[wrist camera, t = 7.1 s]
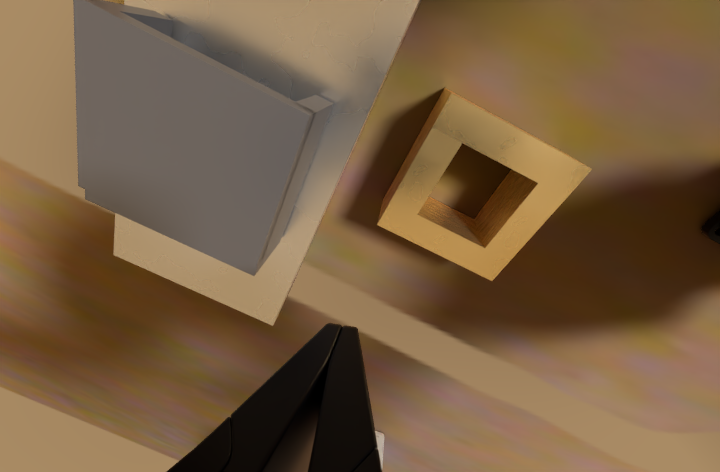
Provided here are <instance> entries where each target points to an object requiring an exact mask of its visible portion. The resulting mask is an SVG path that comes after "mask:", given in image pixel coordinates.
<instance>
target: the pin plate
mask: <svg viewBox="0 0 720 472" xmlns="http://www.w3.org/2000/svg"><path fill="white" fill-rule="evenodd" d="M420 2H421V0H124V5H128V6H133V7H138V8H143V9H148V10H153V11H156V12H158V13H160V14H162V15H164V16H165V17H167V18H169V19H171V20H173V27H172V36H171V38H173V39H175V40H177V41H179V42H181V43H183V44H184V45H186V46H188V47H190V48H192V49H194V50H196V51H198V52H200V53H202V54H204V55H206V56H208V57H210V58H212V59H214V60H216V61H218V62H219V63H221V64H223V65H225V66H227V67H229V68H231V69H233V70H235V71H237V72H239V73H241V74H243V75H245V76H247V77H249V78H251V79H253V80H254V81H256V82H258V83H260V84H262V85H264V86H266V87H268V88H270V89H272V90H274V91H276V92H278V93H280V94H282V95H284V96H286V97H288V98H289V99H291V100H293V101H295V102H296V101H299V100H302V99H305V98H308V97H311V96H314V95H318V96H320V97H321V98H323V99H325V100H327V101H329V102H331V103H333V106H332V108H331V111H330V114H329V116H328V119H327V121H326V124H325V127H324V129H323V132H322V134H321V137H320V140H319V142H318V145H317V147H316V150H315V153H314V155H313V158H312V160H311V163H310V166H309V168H308V171H307V173H306V176H305V178H304V181H303V184H302V186H301V189H300V191H299V194H298V197H297V199H296V202H295V204H294V207H293V210H292V212H291V215H290V217H289V220H288V223H287V225H286V228H285V230H284V233H283V236H282V238H281V241H280V243H279V244H278V245H277V247H276V248H275V249H274V251H273V252H272V253H271V255H270V256H269V257H268V259H267V260H266V261H265V263H264V264H263V265H262V267H261V268H260V269H259V271H258V272H257V273H256V275H255V276H252V275H250V274H248V273H246V272H243V271H241V270H239V269H237V268H235V267H233V266H230V265H228V264H226V263H224V262H222V261H219V260H217V259H215V258H213V257H211V256H208V255H206V254H204V253H202V252H200V251H198V250H195V249H193V248H191V247H189V246H187V245H184V244H182V243H180V242H178V241H176V240H174V239H171V238H169V237H167V236H165V235H163V234H160V233H158V232H156V231H154V230H152V229H149V228H147V227H145V226H143V225H141V224H139V223H136V222H134V221H132V220H130V219H128V218H125V217H123V216H121V215H119V214H117V213H115V231H114V255H115V256H117V257H119V258H122V259H124V260H126V261H128V262H130V263H133V264H135V265H137V266H139V267H142V268H144V269H146V270H148V271H151V272H153V273H155V274H157V275H160V276H162V277H164V278H166V279H169V280H171V281H173V282H175V283H178V284H180V285H182V286H184V287H187V288H189V289H191V290H193V291H196V292H198V293H200V294H202V295H205V296H207V297H209V298H211V299H213V300H216V301H218V302H220V303H222V304H225V305H227V306H229V307H231V308H234V309H236V310H238V311H240V312H243V313H245V314H247V315H249V316H252V317H254V318H256V319H258V320H261V321H263V322H265V323H267V324H270V325H272V326H273V325H274V323H275V321H276V319H277V317H278V316H279V314H280V312H281V309H282V307H283V305H284V303H285V300H286V298H287V296H288V294H289V291H290V289H291V287H292V285H293V283H294V281H295V278H296V276H297V274H298V271H299V269H300V267H301V265H302V263H303V261H304V258H305V256H306V254H307V252H308V250H309V247H310V245H311V243H312V241H313V238H314V236H315V234H316V232H317V230H318V227H319V225H320V223H321V221H322V219H323V216H324V214H325V212H326V210H327V207H328V205H329V203H330V201H331V199H332V196H333V194H334V192H335V190H336V188H337V185H338V183H339V181H340V179H341V176H342V174H343V172H344V170H345V168H346V165H347V163H348V161H349V159H350V157H351V154H352V152H353V150H354V148H355V145H356V143H357V141H358V139H359V137H360V134H361V132H362V130H363V128H364V126H365V123H366V121H367V119H368V117H369V114H370V112H371V110H372V108H373V106H374V103H375V101H376V99H377V97H378V95H379V92H380V90H381V88H382V86H383V83H384V81H385V79H386V77H387V75H388V72H389V70H390V68H391V66H392V64H393V61H394V59H395V57H396V55H397V52H398V50H399V48H400V46H401V44H402V41H403V39H404V37H405V35H406V33H407V30H408V28H409V26H410V24H411V21H412V19H413V17H414V15H415V13H416V10H417V8H418V6H419V4H420Z"/></svg>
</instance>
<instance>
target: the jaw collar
mask: <svg viewBox="0 0 720 472" xmlns="http://www.w3.org/2000/svg"><path fill="white" fill-rule="evenodd" d="M462 143H463V144H465V145H467V146H469V147H471V148H473V149H474V150H476V151H478V152H480V153H482V154H484V155H486V156H488V157H490V158H492V159H493V160H495V161H497V162H499V163H501V164H503V165H505V166H507V167H509V168H510V169H511V170H510V172H509V173H508V174H507V176H506V177H505V178H504V180H503V181H502V182H501V184H500V185H499V186H498V188H497V189H496V190H495V192H494V193H493V194H492V196H491V197H490V198H489V200H488V201H487V202H486V204H485V205H484V206H483V208H482V209H481V210H480V212H479V213H478V214H477V216H476V217H475V218H474V219H472V218H470V217H468V216H467V215H465V214H463V213H461V212H459V211H457V210H455V209H453V208H451V207H449V206H447V205H445V204H443V203H441V202H439V201H437V200H435V199H433V198H431V197H429V195H430V193H431V192H432V190H433V189H434V187H435V186H436V184H437V182H438V181H439V179H440V178H441V176H442V175H443V173H444V171H445V170H446V168H447V167H448V165H449V163H450V162H451V160H452V159H453V157H454V156H455V154H456V152H457V151H458V149H459V148H460V146H461V145H462ZM591 170H592V169H591V168H589V167H588V166H586V165H584V164H583V163H581V162H579V161H578V160H576V159H574V158H573V157H571V156H569V155H567V154H566V153H564V152H562V151H561V150H559V149H557V148H555V147H553V146H552V145H550V144H548V143H546V142H544V141H542V140H541V139H539V138H537V137H535V136H533V135H531V134H529V133H528V132H526V131H524V130H522V129H520V128H518V127H517V126H515V125H513V124H511V123H509V122H507V121H505V120H504V119H502V118H500V117H498V116H496V115H494V114H493V113H491V112H489V111H487V110H485V109H483V108H481V107H480V106H478V105H476V104H474V103H472V102H470V101H469V100H467V99H465V98H463V97H461V96H459V95H458V94H456V93H454V92H452V91H450V90H448V89H446V88H444V90H443V91H442V93H441V95H440V97H439V99H438V100H437V102H436V104H435V106H434V108H433V110H432V111H431V113H430V115H429V117H428V119H427V120H426V122H425V124H424V126H423V128H422V130H421V131H420V133H419V135H418V137H417V139H416V140H415V142H414V144H413V146H412V148H411V150H410V151H409V153H408V155H407V157H406V159H405V160H404V162H403V164H402V166H401V168H400V170H399V171H398V173H397V175H396V177H395V179H394V180H393V182H392V184H391V186H390V188H389V190H388V191H387V193H386V195H385V197H384V199H383V201H382V206H381V210H380V214H379V219H378V223H377V225H378V226H380V227H382V228H384V229H387V230H389V231H391V232H393V233H395V234H397V235H399V236H401V237H403V238H405V239H407V240H409V241H411V242H413V243H415V244H417V245H419V246H421V247H423V248H425V249H427V250H429V251H431V252H433V253H436V254H438V255H440V256H442V257H444V258H446V259H448V260H450V261H452V262H454V263H456V264H458V265H460V266H462V267H464V268H466V269H468V270H470V271H472V272H474V273H476V274H478V275H480V276H482V277H485V278H487V279H489V280H491V281H493V280H494V278H495V277H496V276H497V275H498V274H499V273H500V272H501V271H502V269H503V268H504V267H505V266H506V265H507V264H508V263H509V262H510V261H511V259H512V258H513V257H514V256H515V255H516V254H517V253H518V252H519V250H520V249H521V248H522V247H523V246H524V245H525V244H526V243H527V242H528V240H529V239H530V238H531V237H532V236H533V235H534V234H535V233H536V232H537V230H538V229H539V228H540V227H541V226H542V225H543V224H544V223H545V221H546V220H547V219H548V218H549V217H550V216H551V215H552V214H553V213H554V211H555V210H556V209H557V208H558V207H559V206H560V205H561V204H562V202H563V201H564V200H565V199H566V198H567V197H568V196H569V195H570V194H571V192H572V191H573V190H574V189H575V188H576V187H577V186H578V185H579V183H580V182H581V181H582V180H583V179H584V178H585V177H586V176H587V175H588V173H589V172H590V171H591Z"/></svg>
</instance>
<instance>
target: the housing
mask: <svg viewBox="0 0 720 472" xmlns="http://www.w3.org/2000/svg"><path fill="white" fill-rule="evenodd" d="M73 2H74V36H75V37H74V38H75V74H76V110H77V149H78V186H80V187H82V188H84V189H85V199H86V200H88V201H90V202H93V203H95V204H97V205H99V206H101V207H104V208H106V209H108V210H110V211H112V212H115V213H117V214H119V215H121V216H123V217H125V218H128V219H130V220H132V221H134V222H136V223H139V224H141V225H143V226H145V227H147V228H149V229H152V230H154V231H156V232H158V233H160V234H163V235H165V236H167V237H169V238H171V239H174V240H176V241H178V242H180V243H182V244H184V245H187V246H189V247H191V248H193V249H195V250H198V251H200V252H202V253H204V254H206V255H208V256H211V257H213V258H215V259H217V260H219V261H222V262H224V263H226V264H228V265H230V266H233V267H235V268H237V269H239V270H241V271H243V272H246V273H248V274H250V275H252V276H255V275H256V273H257V272H258V271H259V269H260V268H261V267H262V265H263V264H264V263H265V261H266V260H267V259H268V257H269V256H270V255H271V253H272V252H273V251H274V249H275V248H276V247H277V245H278V244H279V243H280V241H281V238H282V236H283V233H284V230H285V228H286V225H287V223H288V220H289V217H290V215H291V212H292V210H293V207H294V204H295V202H296V199H297V197H298V194H299V191H300V189H301V186H302V184H303V181H304V178H305V176H306V173H307V171H308V168H309V166H310V163H311V160H312V158H313V155H314V153H315V150H316V147H317V145H318V142H319V140H320V137H321V134H322V132H323V129H324V127H325V124H326V121H327V119H328V116H329V114H330V111H331V108H332V106H333V103H331V102H329V101H327V100H325V99H323V98H321V97H320V96H318V95H314V96H311V97H308V98H305V99H302V100H299V101H296V102H295V101H293V100H291V99H289V98H288V97H286V96H284V95H282V94H280V93H278V92H276V91H274V90H272V89H270V88H268V87H266V86H264V85H262V84H260V83H258V82H256V81H254V80H253V79H251V78H249V77H247V76H245V75H243V74H241V73H239V72H237V71H235V70H233V69H231V68H229V67H227V66H225V65H223V64H221V63H219V62H218V61H216V60H214V59H212V58H210V57H208V56H206V55H204V54H202V53H200V52H198V51H196V50H194V49H192V48H190V47H188V46H186V45H184V44H183V43H181V42H179V41H177V40H175V39H173V38H171V36H172V27H173V20H171V19H169V18H167V17H165V16H164V15H162V14H160V13H158V12H156V11H153V10H148V9H143V8H138V7H133V6H128V5H123V4H118V3H113V2H108V1H103V0H73Z"/></svg>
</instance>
